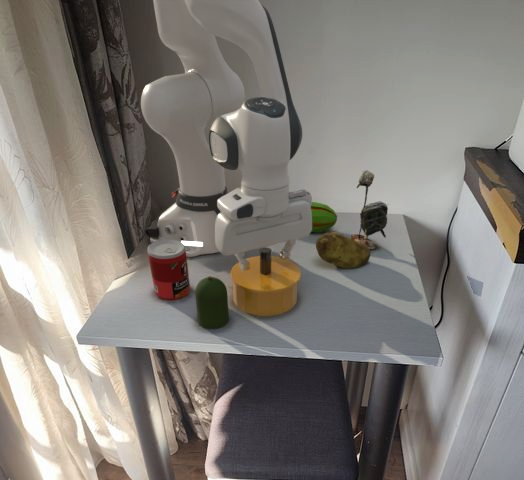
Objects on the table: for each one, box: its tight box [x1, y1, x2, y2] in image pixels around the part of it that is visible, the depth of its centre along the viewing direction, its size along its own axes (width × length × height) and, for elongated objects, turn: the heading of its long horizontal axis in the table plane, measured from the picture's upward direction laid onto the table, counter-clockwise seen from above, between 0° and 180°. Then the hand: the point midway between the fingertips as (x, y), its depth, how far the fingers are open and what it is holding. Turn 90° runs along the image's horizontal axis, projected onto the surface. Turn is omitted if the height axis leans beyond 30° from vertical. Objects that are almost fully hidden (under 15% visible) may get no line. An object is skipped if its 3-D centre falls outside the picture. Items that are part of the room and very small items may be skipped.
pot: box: [231, 280, 299, 317], centre depth 99 cm, size 14×14×6 cm
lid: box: [230, 246, 302, 293], centre depth 95 cm, size 15×15×6 cm
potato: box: [315, 231, 371, 269], centre depth 110 cm, size 8×13×8 cm, turn 74°
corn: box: [311, 201, 338, 233], centre depth 127 cm, size 7×8×20 cm
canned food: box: [147, 240, 191, 301], centre depth 100 cm, size 8×8×11 cm
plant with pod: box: [348, 169, 389, 250], centre depth 114 cm, size 8×11×20 cm
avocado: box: [194, 275, 230, 330], centre depth 91 cm, size 6×6×10 cm
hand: (265, 263), depth 95 cm, fingers open, 8 cm apart
